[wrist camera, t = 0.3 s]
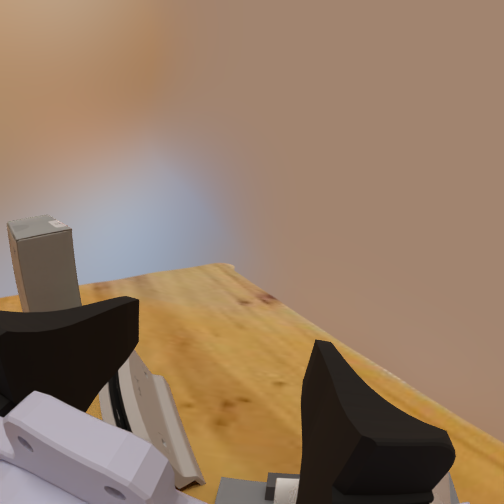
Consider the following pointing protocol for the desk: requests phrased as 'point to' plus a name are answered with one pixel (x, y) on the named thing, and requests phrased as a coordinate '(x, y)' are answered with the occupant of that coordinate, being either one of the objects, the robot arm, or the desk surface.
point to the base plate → (268, 490)
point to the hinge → (149, 415)
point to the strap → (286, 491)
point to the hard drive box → (44, 264)
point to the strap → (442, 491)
